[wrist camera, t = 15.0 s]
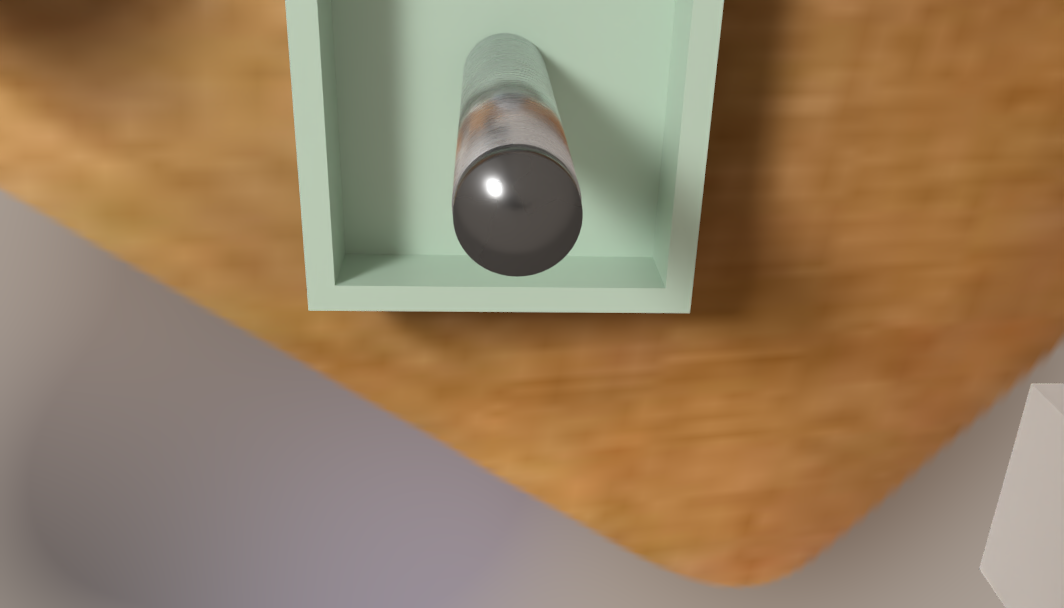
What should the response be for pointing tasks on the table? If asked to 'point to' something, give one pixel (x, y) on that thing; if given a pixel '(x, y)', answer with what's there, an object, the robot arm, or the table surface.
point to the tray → (431, 140)
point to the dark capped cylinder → (513, 163)
